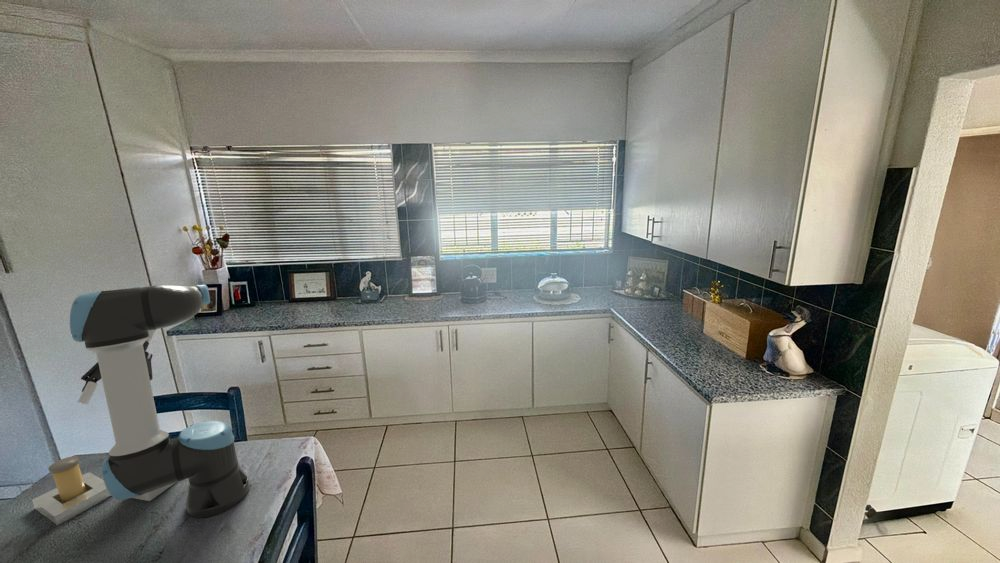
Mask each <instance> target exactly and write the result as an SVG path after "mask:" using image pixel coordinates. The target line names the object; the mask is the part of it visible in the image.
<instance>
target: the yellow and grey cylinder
mask: <svg viewBox="0 0 1000 563" xmlns="http://www.w3.org/2000/svg"><path fill="white" fill-rule="evenodd" d="M79 462H81V461H80V457H79V456H76V455H74V456H73V455H72V456H68V457H65V458H61V459H59V460H57V461H55V462H53V463H52V464H50V466H48V471H49V473H51V474H52V476H53V480H54V483H55V487H56V488H57V489H58V493H59V496H60V499H61V503H62V504H64V503H66V502H68V501H70V500H72V499H74V498H76V497H77V496H79V495H81V494H83V493H85V492H87V491H86V488H85V484H84V481H83V478H82V475H83V474H82V472H81V468H80V464H79Z"/></svg>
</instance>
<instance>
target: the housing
mask: <svg viewBox="0 0 1000 563" xmlns="http://www.w3.org/2000/svg"><path fill="white" fill-rule="evenodd" d="M82 478H83V481H84V484H85V488H86V491H87V492H85V493H83V494H81V495H79V496H77V497H76V498H74V499H72V500H70V501H68V502H66V503H64V504H62V502H61V499H60V496H59V493H58V489H57V487H55V488H53V489H52V490H49V491H47V492H46V493H42V494H41V495H39V496H37V497H35V498H33V499H31V502H32V504H33V507H34V510H36V511H37V510H38V511H37V512H38V513H40V514H41V515H42V516H44V517H46V519H48V520H50V521H51V522H52V523H53V524H55V525H56V526H58V525H59V526H60V525H61V524H63V523H65V522H66V521H68V520H70V519H72V518H74V517H76V516H78V515H79V514H81V513H83V512H85V511H86V510H88V509H90V508H93V507H94V506H95V505H97V504H100V503H101V502H103V501H105V500H107V499H108V498H111V497H112V496H111V495H110V493H109V492H108V490H107V488H106V486H105V483H104V480H103V478H101V477H98V476H97V475H95V474H93V473H92V472H87V473H85V474H82Z"/></svg>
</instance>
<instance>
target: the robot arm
mask: <svg viewBox="0 0 1000 563" xmlns="http://www.w3.org/2000/svg"><path fill="white" fill-rule="evenodd" d="M210 303H211V298H210V292H209V287H208V286H207V284H194V285H188V286H187V285H167V284H163V285H162V284H159V285H156V284H154V285H148V286H135V287H131V288H129V287H128V288H121V289H118V288H117V289H110V290H100V291H95V292H88V293H82V294H79V295H78V296H77V297H75V299H74V300H73V302H72V304H71V306H70V311H69V312H70V313H69V329H70V334H71V335H72V340H74V342H78V343H83V342H84V345H85V349H86V350H88V351H90V352H93V353H94V354H96V358H97V362H96V363H95V364H94V365H93V366H91V368H90V369H88V371H87V372H86V373H84V374H83V375H82V376H81V378H80V380H81V381H83V382H84V381H85V384H84V386H83V387H82V390H81V395H80V397H79V398H78V400H77V403H79V404H82V405H88V404H89V402H90V401H91V398H92V397H93V395H94V392H95V390H96V389H97V387H98V382H99V381H101V382H102V387H103V389H104V390H103V391H104V395H105V399H106V405H107V410H108V415H109V418H110V423H111V427H112V432H113V437H114V441H115V442H114V445H113V446H112V447H111V448H110V450H109V451H108V457H106V458H105V459H104V460H103V462H102V464H101V472H102V480H104V483H105V486H106V488H107V490H108V492H109V493H110V495H111V496H110V497H112V498H114V499H116V500H117V501H126V500H128V499H133V498H132V497H136V496H141V495H143V494H145V493H148V492H151V491H154V490H156V489H159V488H162V487H165V486H168V485H171V484H173V485H175V484H177V483H179V482H181V481H184V480H188V484H189V486H188V489H187V496H186V500H185V507H186V512H187V514H188V515H189V516H190V517H193V518H198V519H199V518H201V519H203V518H209V517H213V516H216V515H219V514H222V513H224V512H226V511H228V510H230V509H232V508H233V507H234V506H236V505H237V504H239V503H240V502H242V500H243V499H244V498H245V497H246V496H247V494H248V492H249V490H250V480H249V477H248V475H247V474H246V473H245V471H244V470H243V469H242V468H241V466H240V465H239V462H238V455H237V451H236V446H235V435H234V434H233V431H232V427H231V426H230V424H229V423H227V422H225V421H221V420H205V421H200V422H196V423H194V424H191V425H190V426H187V427H185V428H183V429H182V430H181V431H180V432H179V434H178V436H177V437H174V438H170V434H169V432H168V431H165V430H163V429H160V424H159V423H160V422H159V418H158V414H157V413H158V412H157V409H156V404H155V400H154V399H155V398H154V395H153V394H154V393H153V388H152V385H151V384H152V383H151V381H152V380H153V369H152V368H153V367H152V359H153V353H150V352H148V351H147V349H148V348H149V346H150V343H149V342H151V341H152V338H153V336H154V335H155V332H156V330H158V329H159V330H160V329H163V328H164V329H165V328H168V327H171V326H175V325H178V324H180V323H182V322H185V321H186V320H188V319H191V318H193V317H194V316H196V315H197V314H198V313H199V312H200V311H201V309H202V306H206V305H209V304H210Z"/></svg>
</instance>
